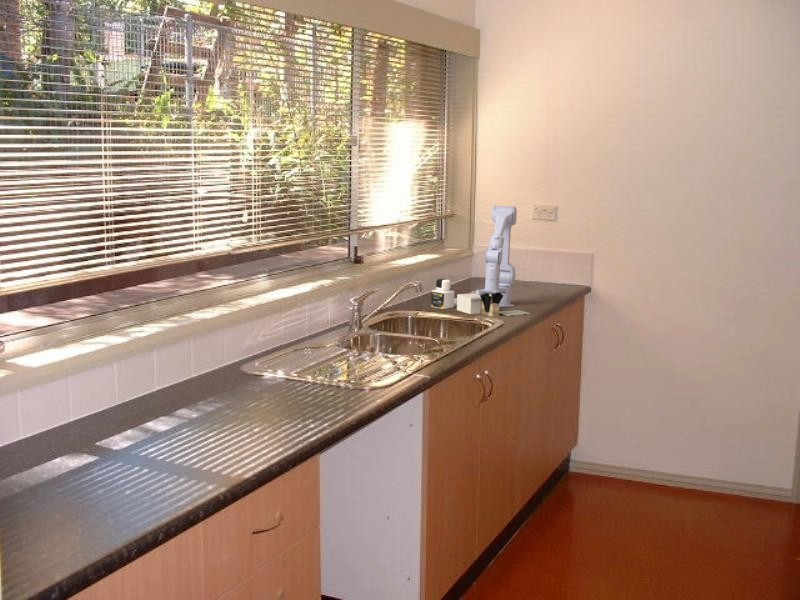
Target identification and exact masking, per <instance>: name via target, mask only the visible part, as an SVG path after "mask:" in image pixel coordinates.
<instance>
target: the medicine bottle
mask: <svg viewBox="0 0 800 600" xmlns="http://www.w3.org/2000/svg"><path fill="white" fill-rule="evenodd" d="M435 282H436V284H435V285H436V286H435V289H433V290H431V293H430V294H431V296H430V301H431V302H430V307H431V308H435V309H441V310H446V309H451V308H455V290H451V283H452V281H451V280H450V279H448V278H438V279H436V281H435Z"/></svg>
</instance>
